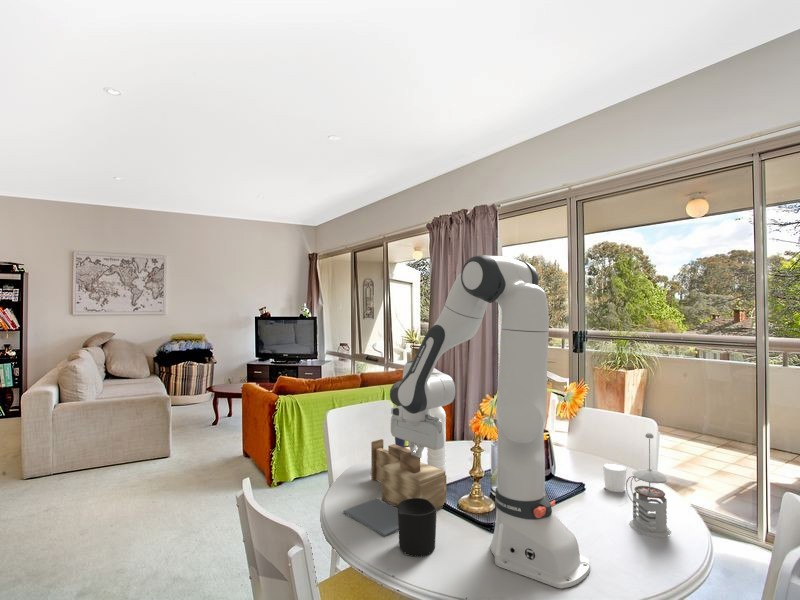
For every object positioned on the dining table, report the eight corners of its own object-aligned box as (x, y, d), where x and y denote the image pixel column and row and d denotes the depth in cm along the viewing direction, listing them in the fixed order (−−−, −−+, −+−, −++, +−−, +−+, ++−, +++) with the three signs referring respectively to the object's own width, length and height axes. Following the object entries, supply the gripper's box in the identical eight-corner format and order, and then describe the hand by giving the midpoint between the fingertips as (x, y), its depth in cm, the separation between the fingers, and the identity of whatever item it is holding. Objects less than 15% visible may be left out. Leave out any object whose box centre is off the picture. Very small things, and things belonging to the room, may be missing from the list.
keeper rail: (405, 487, 147) (405, 447, 147) (395, 491, 144) (395, 450, 144) (381, 476, 155) (381, 439, 155) (371, 480, 152) (371, 441, 152)
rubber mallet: (410, 471, 160) (410, 385, 160) (388, 471, 161) (388, 385, 161) (410, 459, 173) (410, 379, 173) (390, 458, 173) (390, 379, 173)
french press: (652, 540, 114) (652, 440, 114) (615, 520, 124) (614, 428, 125) (680, 533, 117) (680, 436, 117) (641, 513, 128) (641, 424, 128)
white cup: (622, 485, 148) (622, 463, 148) (629, 493, 142) (629, 471, 142) (600, 483, 150) (600, 462, 150) (606, 492, 143) (606, 469, 143)
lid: (445, 475, 133) (445, 457, 133) (419, 485, 126) (419, 466, 126) (408, 461, 144) (408, 445, 144) (383, 469, 137) (382, 452, 137)
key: (415, 459, 142) (415, 451, 142) (409, 461, 140) (409, 453, 140) (394, 451, 149) (394, 444, 149) (388, 453, 148) (388, 445, 148)
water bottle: (447, 468, 163) (447, 398, 163) (444, 475, 157) (443, 402, 157) (423, 466, 166) (423, 397, 166) (419, 472, 159) (419, 400, 159)
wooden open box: (446, 506, 133) (446, 475, 133) (419, 518, 125) (419, 485, 125) (408, 489, 145) (408, 461, 145) (382, 499, 137) (382, 469, 137)
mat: (418, 521, 124) (418, 519, 124) (385, 536, 115) (385, 534, 115) (376, 500, 137) (376, 498, 137) (343, 512, 129) (343, 510, 129)
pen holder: (441, 541, 113) (441, 501, 113) (429, 561, 104) (429, 518, 105) (406, 534, 117) (406, 495, 117) (391, 553, 108) (391, 511, 108)
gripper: (448, 416, 135) (448, 463, 135) (401, 405, 150) (401, 447, 150) (434, 420, 130) (434, 469, 130) (387, 407, 145) (387, 451, 145)
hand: (416, 457), depth 140 cm, fingers closed
